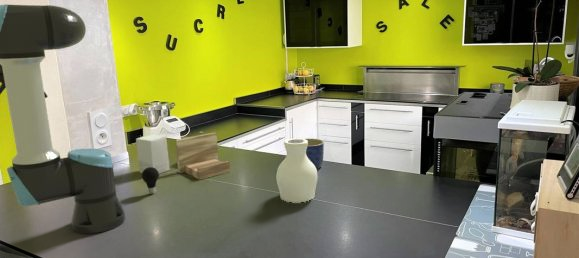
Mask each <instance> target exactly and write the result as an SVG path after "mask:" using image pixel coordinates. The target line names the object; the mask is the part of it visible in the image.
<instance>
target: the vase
mask: <svg viewBox="0 0 579 258" xmlns="http://www.w3.org/2000/svg"><path fill="white" fill-rule="evenodd" d="M306 139H307V138H297V137H296V138H289V139H286V140H284V141H283V145H284V149H285V151H286V155H285V158H284V159H283V160H282V162H281V163H280V164H279V166H277V170H276V175H275V176H276V177H275V178H276V183H277V187H278V191H279V195H280V196H279V198H280V200H282V201H283V200H284V201H283V202H285V201H286V202H285V203H289V202H292V203H291V204H302V203H301V202H304V203H307V202H306V201H308V202H310V201H309V200H311V199H313V198H314V197H315V195H316V194H315V193H316V188H317V184H318V169H316V167H315V166H314V164H313V163H312V162H311V161H310V160H309V159H308V157H307V155H306V149H307V146H308V140H306ZM314 199H315V198H314ZM314 199H313V200H314ZM311 201H312V200H311Z"/></svg>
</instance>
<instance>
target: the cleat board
mask: <svg viewBox="0 0 579 258" xmlns="http://www.w3.org/2000/svg"><path fill="white" fill-rule="evenodd" d="M217 134H218V133H217V132H211V133H209V132H208V133H203V135H200V134H199V135H193V136H188V137H184V138H183V137H182V138H179V139H178V138H176V139H175V147H176V149H175V150H176V159H177V170H178V171H177V172H178V173H179V174H183V173H186V174H188V175H190V176H192V177H194V178H196V179H197V180H203V179H208V178H211V177H215V176H218V175H219V176H220V175H224V174H229V173H231V166H230V161H228V160H226V161H221V160H219V152H218V137H217Z"/></svg>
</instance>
